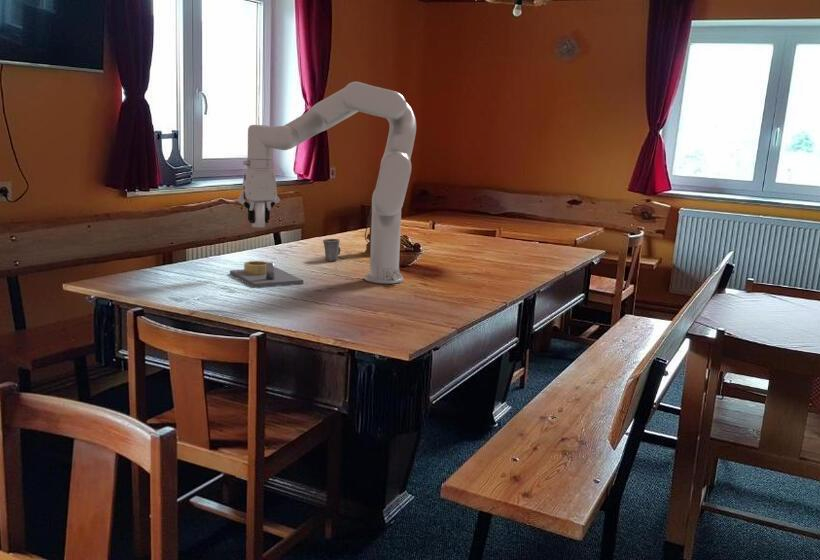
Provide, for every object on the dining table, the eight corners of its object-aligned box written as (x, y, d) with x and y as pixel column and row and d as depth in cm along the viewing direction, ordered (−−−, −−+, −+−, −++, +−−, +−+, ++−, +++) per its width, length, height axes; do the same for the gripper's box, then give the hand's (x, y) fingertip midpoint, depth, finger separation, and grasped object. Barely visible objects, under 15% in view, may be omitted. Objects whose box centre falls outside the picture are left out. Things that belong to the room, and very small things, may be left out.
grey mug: (343, 257, 283) (344, 236, 282) (336, 263, 271) (337, 241, 269) (328, 256, 284) (328, 235, 282) (320, 262, 272) (320, 240, 270)
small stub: (275, 279, 232) (275, 263, 231) (267, 280, 231) (268, 264, 230) (272, 277, 234) (272, 262, 233) (264, 278, 233) (264, 262, 232)
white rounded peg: (266, 227, 238) (267, 202, 237) (254, 227, 236) (255, 202, 234) (262, 225, 241) (262, 200, 240) (250, 225, 239) (250, 200, 238)
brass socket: (273, 273, 240) (273, 264, 240) (249, 275, 236) (249, 266, 236) (264, 269, 247) (264, 260, 246) (241, 270, 243) (241, 261, 242)
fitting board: (303, 283, 234) (303, 280, 233) (254, 287, 225) (254, 283, 225) (276, 270, 252) (276, 267, 251) (230, 274, 243) (230, 270, 243)
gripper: (238, 165, 227) (237, 224, 231) (289, 166, 236) (287, 223, 240) (229, 163, 233) (229, 221, 237) (279, 164, 242) (278, 220, 246)
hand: (258, 221), depth 238 cm, fingers closed on white rounded peg, 4 cm apart
